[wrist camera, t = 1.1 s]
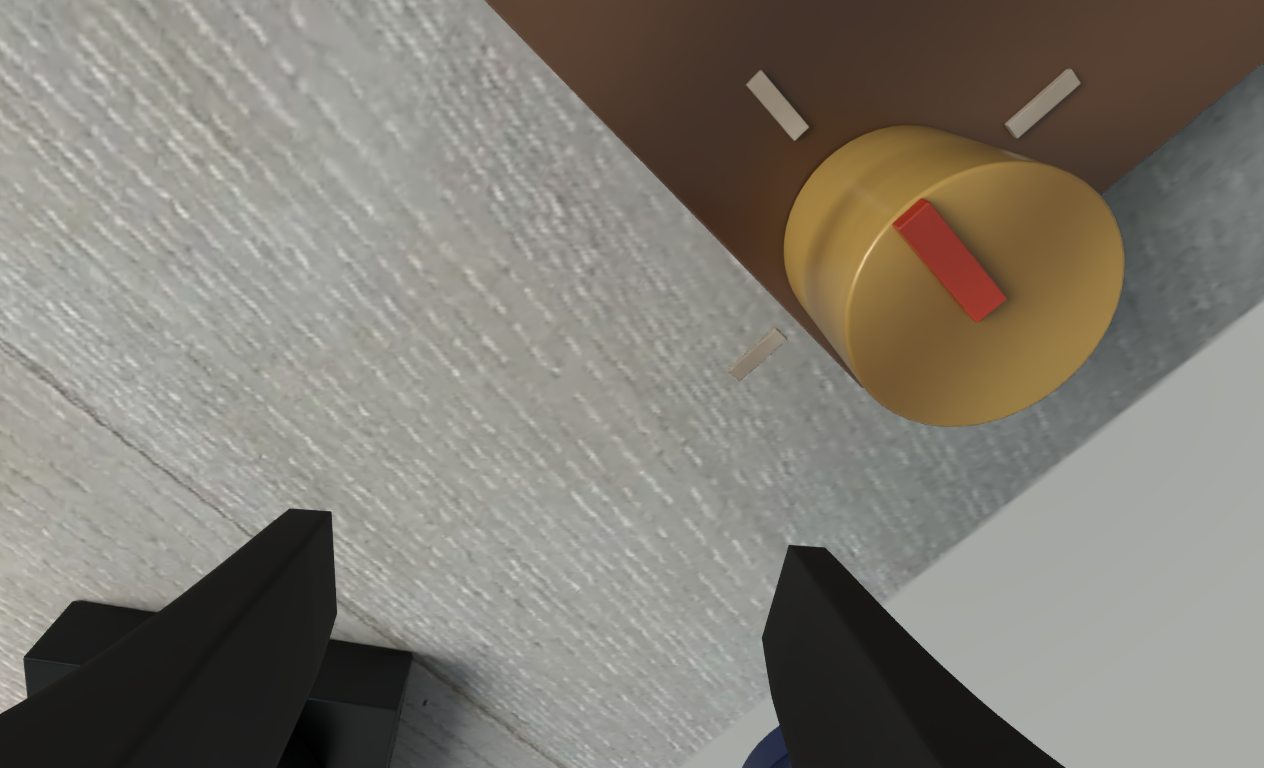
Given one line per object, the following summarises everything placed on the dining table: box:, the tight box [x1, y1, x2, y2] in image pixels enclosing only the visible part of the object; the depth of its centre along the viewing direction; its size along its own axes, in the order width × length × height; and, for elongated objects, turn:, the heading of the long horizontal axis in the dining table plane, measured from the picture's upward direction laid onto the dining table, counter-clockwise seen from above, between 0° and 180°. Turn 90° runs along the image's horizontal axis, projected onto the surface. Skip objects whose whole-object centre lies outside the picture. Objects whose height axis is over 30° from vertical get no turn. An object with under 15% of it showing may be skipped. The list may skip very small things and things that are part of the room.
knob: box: [784, 125, 1125, 427], centre depth 13 cm, size 4×4×4 cm
